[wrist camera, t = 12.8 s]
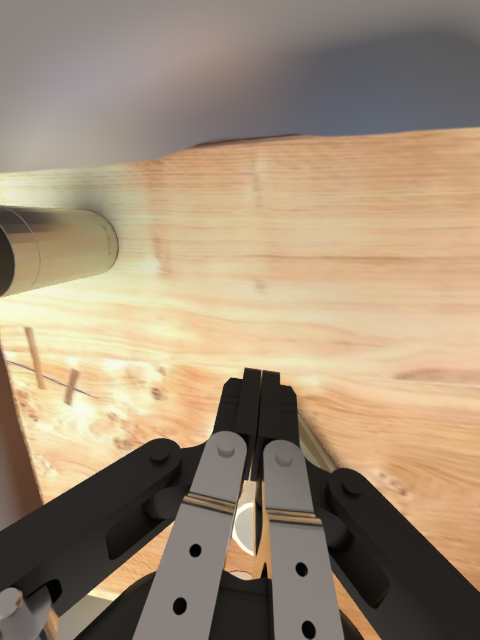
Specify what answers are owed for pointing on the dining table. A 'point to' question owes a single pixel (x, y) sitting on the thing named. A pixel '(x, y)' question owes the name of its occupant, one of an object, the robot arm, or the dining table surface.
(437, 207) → the dining table surface
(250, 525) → the foam cup
